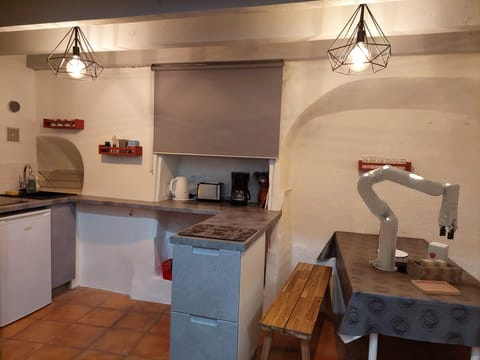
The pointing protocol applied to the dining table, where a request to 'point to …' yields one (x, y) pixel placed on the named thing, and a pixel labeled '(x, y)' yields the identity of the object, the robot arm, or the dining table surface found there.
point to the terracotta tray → (435, 287)
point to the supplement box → (438, 251)
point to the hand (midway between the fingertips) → (446, 237)
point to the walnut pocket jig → (434, 272)
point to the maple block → (433, 262)
